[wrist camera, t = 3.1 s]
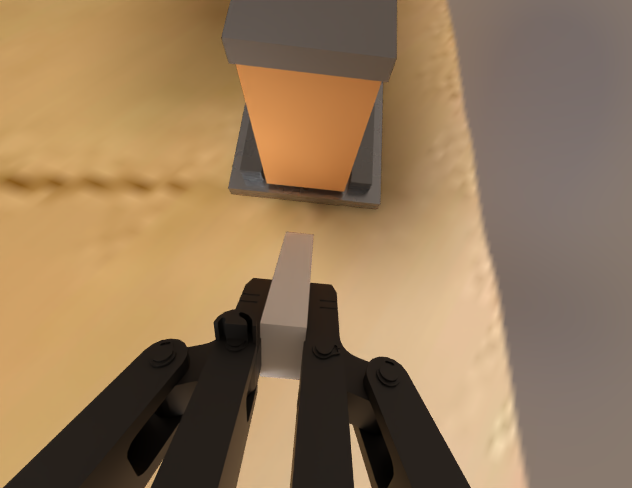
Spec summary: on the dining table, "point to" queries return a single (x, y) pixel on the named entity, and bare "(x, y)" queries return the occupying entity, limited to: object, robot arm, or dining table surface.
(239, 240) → the dining table surface
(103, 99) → the dining table surface
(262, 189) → the gray canister tray
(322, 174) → the orange tall block
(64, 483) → the robot arm
